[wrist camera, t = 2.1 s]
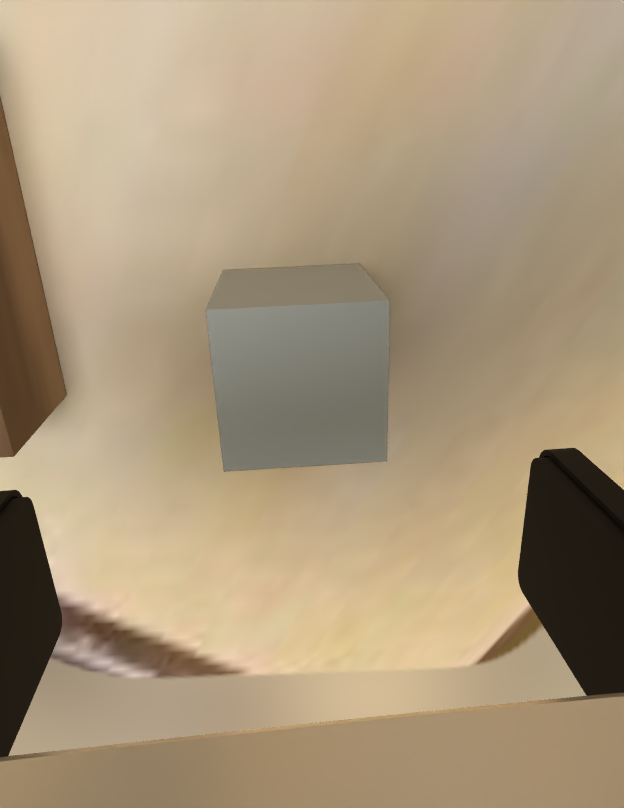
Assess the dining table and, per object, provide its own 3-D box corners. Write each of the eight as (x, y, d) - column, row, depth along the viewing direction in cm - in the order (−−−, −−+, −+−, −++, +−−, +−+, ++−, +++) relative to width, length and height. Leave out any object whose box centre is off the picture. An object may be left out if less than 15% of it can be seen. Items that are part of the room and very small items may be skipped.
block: (359, 263, 21) (389, 300, 16) (359, 389, 23) (386, 461, 18) (223, 269, 21) (205, 310, 16) (235, 396, 23) (223, 471, 18)
